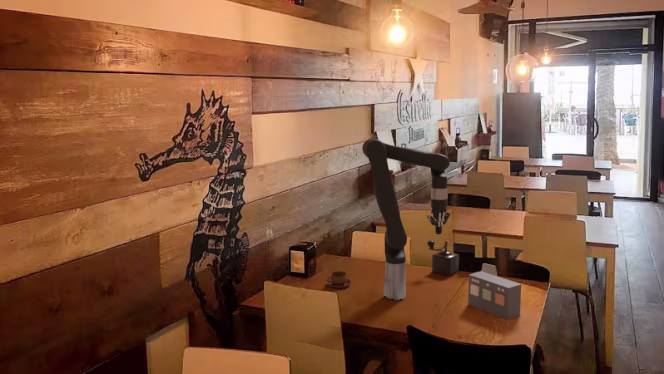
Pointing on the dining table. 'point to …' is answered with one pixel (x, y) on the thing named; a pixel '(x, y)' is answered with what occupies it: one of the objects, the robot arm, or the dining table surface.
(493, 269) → the pale pink rectangular block
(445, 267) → the dark brown coffee grinder
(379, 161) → the robot arm
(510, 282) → the console
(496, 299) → the button terracotta
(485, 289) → the button sage
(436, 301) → the dining table surface
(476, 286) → the button cream
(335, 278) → the cup and saucer
